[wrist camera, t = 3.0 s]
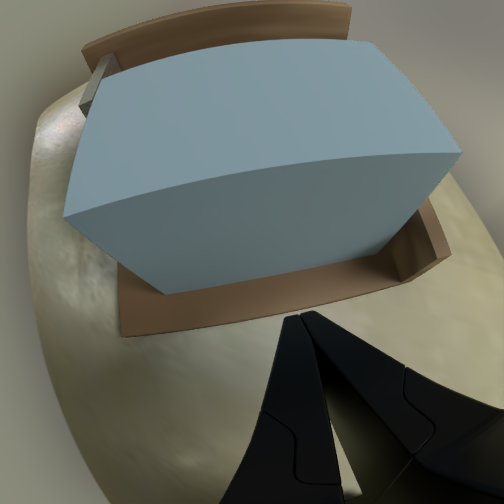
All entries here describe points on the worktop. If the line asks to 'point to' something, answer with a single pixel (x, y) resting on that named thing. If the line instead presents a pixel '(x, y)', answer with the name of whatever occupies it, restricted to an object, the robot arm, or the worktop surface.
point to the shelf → (282, 285)
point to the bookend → (98, 80)
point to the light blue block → (253, 161)
